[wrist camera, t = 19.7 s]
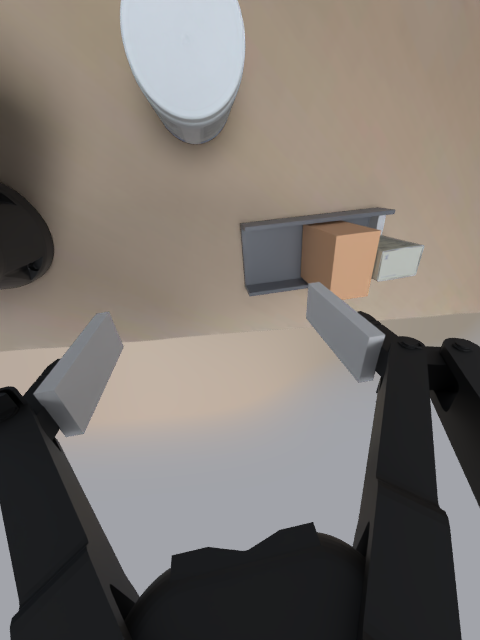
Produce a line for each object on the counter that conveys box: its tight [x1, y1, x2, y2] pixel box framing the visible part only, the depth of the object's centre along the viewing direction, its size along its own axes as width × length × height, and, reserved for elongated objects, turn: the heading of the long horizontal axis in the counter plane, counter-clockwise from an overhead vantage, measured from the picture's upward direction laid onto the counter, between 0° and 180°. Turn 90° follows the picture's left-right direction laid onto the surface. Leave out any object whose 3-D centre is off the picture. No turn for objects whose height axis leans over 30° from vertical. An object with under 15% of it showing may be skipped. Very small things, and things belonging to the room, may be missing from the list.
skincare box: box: [371, 235, 424, 281], centre depth 37 cm, size 6×4×12 cm
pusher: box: [301, 220, 381, 300], centre depth 37 cm, size 6×9×11 cm, turn 5°
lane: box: [240, 207, 395, 296], centre depth 41 cm, size 24×11×4 cm, turn 95°
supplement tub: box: [120, 0, 245, 144], centre depth 24 cm, size 10×10×15 cm
